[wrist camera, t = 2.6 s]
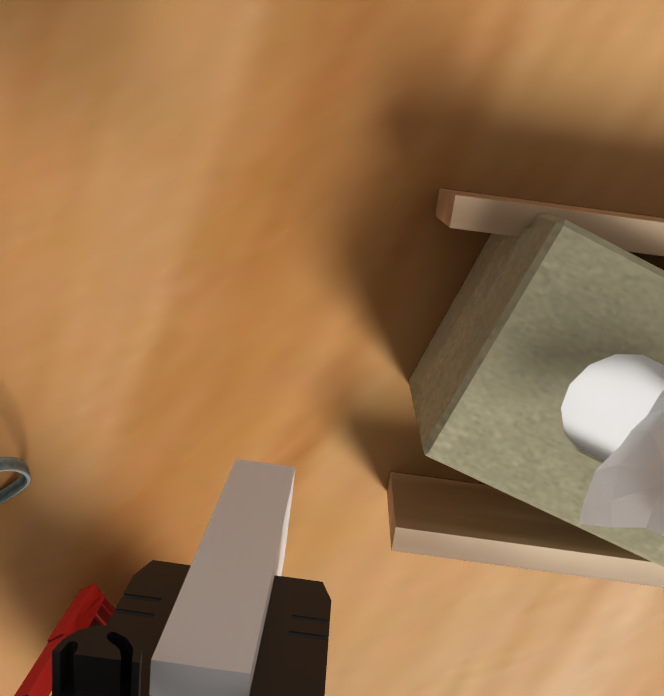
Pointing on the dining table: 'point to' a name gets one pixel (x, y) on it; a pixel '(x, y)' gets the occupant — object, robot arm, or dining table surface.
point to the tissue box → (555, 381)
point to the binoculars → (20, 483)
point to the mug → (80, 615)
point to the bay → (486, 501)
